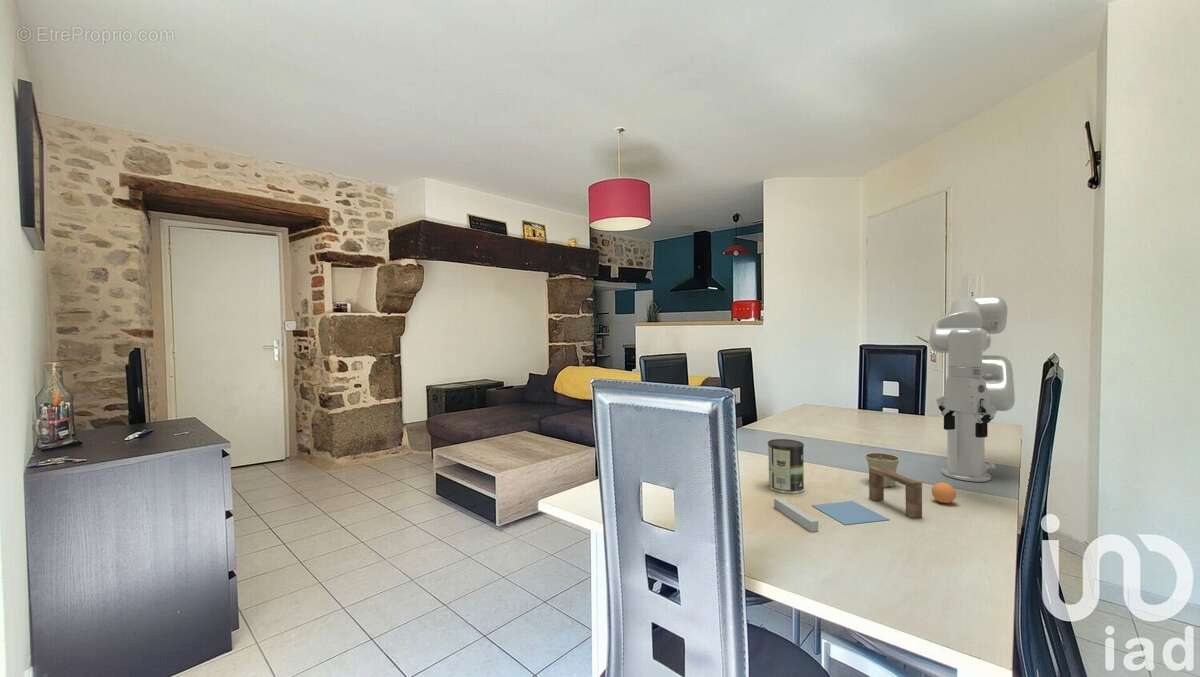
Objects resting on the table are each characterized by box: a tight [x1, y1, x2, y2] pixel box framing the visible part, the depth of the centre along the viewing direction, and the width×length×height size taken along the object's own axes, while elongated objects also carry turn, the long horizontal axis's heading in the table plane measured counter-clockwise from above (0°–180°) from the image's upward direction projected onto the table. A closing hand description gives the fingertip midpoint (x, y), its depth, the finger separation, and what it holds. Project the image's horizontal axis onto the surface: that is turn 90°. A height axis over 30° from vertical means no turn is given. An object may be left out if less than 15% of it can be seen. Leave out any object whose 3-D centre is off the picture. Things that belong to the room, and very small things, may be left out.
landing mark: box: [811, 500, 890, 526], centre depth 124 cm, size 13×13×1 cm
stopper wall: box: [773, 497, 819, 533], centre depth 121 cm, size 2×16×2 cm, turn 11°
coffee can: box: [767, 438, 805, 495], centre depth 144 cm, size 10×10×14 cm
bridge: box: [868, 466, 923, 520], centre depth 127 cm, size 3×14×9 cm, turn 11°
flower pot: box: [864, 452, 901, 488], centre depth 146 cm, size 9×9×9 cm
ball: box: [931, 482, 957, 504], centre depth 130 cm, size 6×6×6 cm
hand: (964, 433), depth 132 cm, fingers open, 9 cm apart
